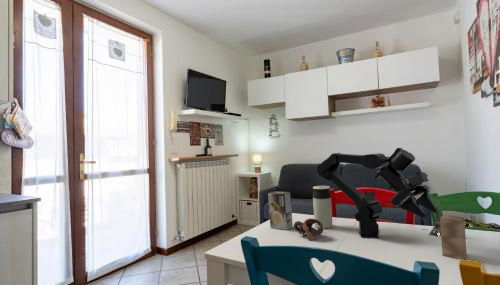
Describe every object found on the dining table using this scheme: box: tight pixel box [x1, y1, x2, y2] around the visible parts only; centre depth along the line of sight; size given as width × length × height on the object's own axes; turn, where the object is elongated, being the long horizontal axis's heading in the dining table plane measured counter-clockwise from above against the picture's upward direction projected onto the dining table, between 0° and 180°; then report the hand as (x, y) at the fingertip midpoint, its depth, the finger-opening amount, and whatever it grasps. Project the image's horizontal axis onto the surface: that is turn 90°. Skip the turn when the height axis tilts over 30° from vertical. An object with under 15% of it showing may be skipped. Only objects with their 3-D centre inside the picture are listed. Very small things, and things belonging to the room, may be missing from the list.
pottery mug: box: [293, 217, 324, 241], centre depth 113 cm, size 12×10×8 cm
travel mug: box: [312, 185, 334, 229], centre depth 127 cm, size 8×8×18 cm
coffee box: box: [267, 191, 294, 231], centre depth 129 cm, size 9×6×16 cm
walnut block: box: [440, 214, 468, 261], centre depth 88 cm, size 5×5×12 cm
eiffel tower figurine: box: [420, 204, 441, 238], centre depth 107 cm, size 15×10×13 cm
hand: (431, 214), depth 93 cm, fingers open, 9 cm apart
